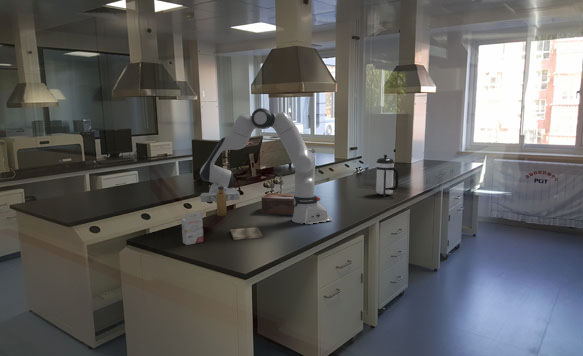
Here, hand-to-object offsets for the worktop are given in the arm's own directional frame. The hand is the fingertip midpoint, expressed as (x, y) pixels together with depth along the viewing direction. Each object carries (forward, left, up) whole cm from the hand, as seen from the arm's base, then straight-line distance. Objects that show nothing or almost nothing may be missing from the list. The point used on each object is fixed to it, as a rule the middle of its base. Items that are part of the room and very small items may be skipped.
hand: (221, 199), depth 204 cm
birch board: (-11, +9, -17) cm, 22 cm away
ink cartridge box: (+15, +14, -17) cm, 27 cm away
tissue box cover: (-42, -32, -17) cm, 55 cm away
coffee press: (-126, -59, -17) cm, 140 cm away
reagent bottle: (0, -1, -8) cm, 8 cm away
